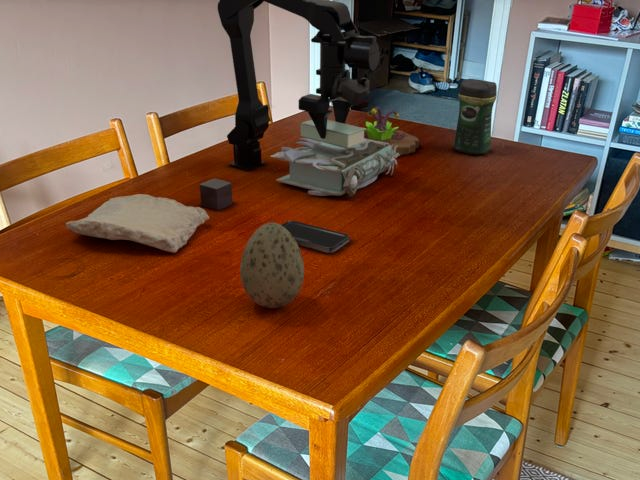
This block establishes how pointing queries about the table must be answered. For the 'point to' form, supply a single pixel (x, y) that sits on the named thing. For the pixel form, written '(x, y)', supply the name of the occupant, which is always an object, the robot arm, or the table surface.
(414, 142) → the plant
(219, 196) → the block
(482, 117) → the coffee jar
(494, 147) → the table surface
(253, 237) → the decorative egg
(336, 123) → the pocket book
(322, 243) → the phone
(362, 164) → the ornate book
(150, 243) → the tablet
